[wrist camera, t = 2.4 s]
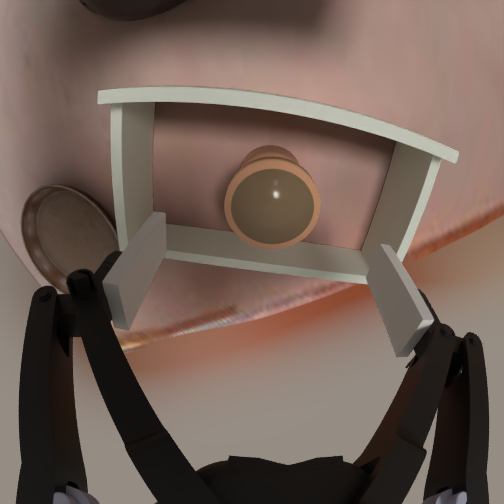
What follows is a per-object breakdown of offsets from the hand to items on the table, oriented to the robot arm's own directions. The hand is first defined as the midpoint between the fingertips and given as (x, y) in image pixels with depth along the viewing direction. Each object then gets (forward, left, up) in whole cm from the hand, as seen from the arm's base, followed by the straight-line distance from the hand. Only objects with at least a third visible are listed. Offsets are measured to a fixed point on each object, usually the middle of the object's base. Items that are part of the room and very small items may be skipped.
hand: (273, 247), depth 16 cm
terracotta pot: (0, 0, -13) cm, 13 cm away
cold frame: (0, 0, -13) cm, 13 cm away
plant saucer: (+11, -24, -13) cm, 29 cm away
